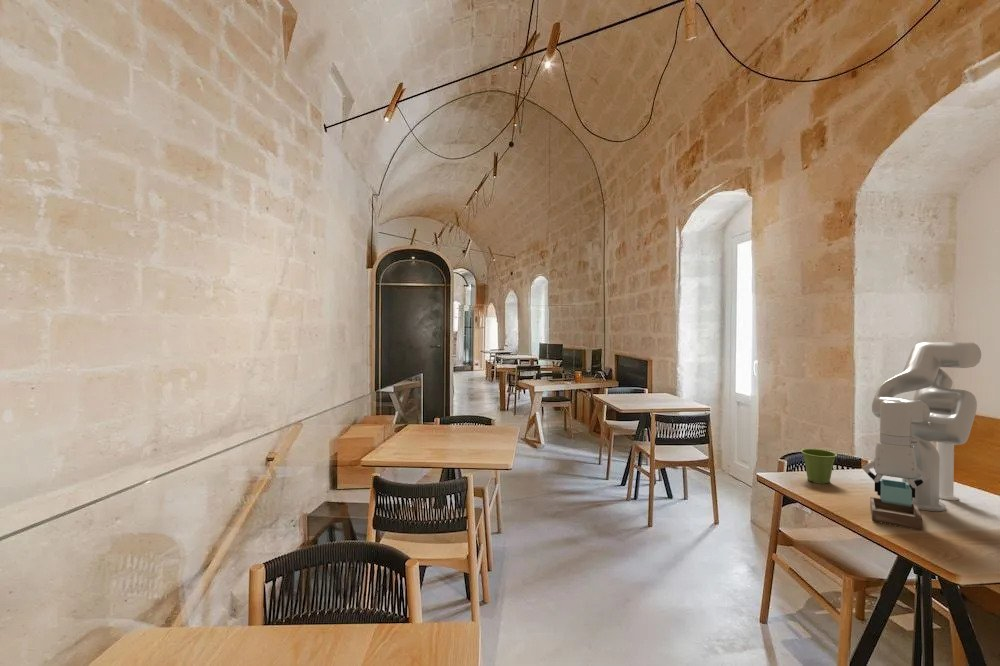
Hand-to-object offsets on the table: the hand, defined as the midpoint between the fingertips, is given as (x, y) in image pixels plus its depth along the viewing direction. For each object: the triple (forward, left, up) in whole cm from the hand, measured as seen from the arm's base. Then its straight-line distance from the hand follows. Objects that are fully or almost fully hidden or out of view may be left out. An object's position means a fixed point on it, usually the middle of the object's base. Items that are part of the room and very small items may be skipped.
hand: (894, 496), depth 151 cm
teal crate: (+1, 0, -1) cm, 1 cm away
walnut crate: (0, 0, -7) cm, 7 cm away
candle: (-35, +16, -7) cm, 39 cm away
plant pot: (-31, -21, -7) cm, 38 cm away
